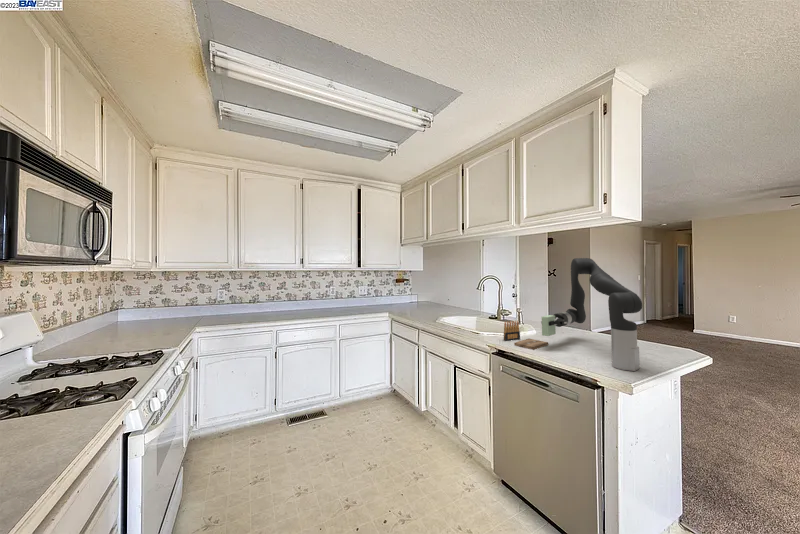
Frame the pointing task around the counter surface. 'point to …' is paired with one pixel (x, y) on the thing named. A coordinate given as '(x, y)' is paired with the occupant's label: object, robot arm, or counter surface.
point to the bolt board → (531, 344)
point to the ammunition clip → (511, 331)
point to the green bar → (546, 328)
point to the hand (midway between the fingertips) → (545, 323)
